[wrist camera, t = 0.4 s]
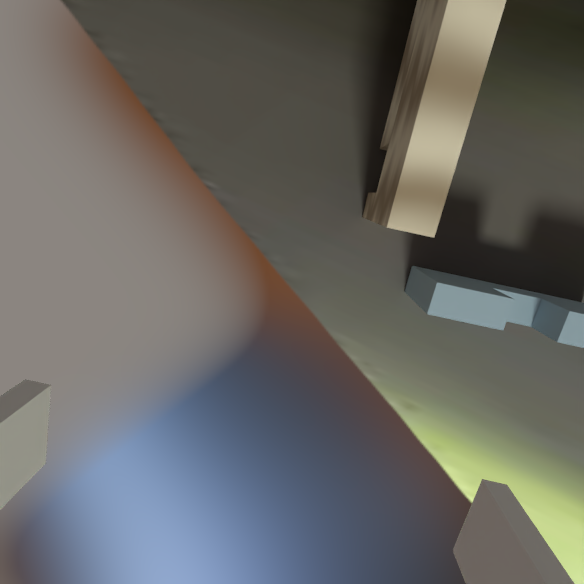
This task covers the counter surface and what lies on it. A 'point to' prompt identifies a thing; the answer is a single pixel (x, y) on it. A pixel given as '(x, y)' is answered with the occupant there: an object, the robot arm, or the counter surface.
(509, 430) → the counter surface
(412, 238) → the counter surface
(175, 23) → the counter surface
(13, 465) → the robot arm
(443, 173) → the birch plate
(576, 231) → the counter surface
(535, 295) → the blue board
